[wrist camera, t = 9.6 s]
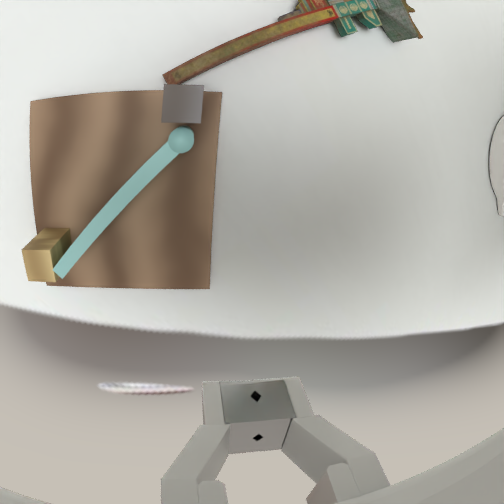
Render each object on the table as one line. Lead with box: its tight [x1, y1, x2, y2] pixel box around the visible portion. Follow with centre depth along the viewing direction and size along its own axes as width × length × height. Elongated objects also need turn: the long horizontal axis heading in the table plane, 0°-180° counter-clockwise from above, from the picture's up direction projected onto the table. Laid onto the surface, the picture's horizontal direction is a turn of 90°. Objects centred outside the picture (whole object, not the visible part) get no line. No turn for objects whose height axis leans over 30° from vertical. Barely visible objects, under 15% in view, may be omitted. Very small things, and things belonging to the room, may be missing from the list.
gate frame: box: [22, 84, 222, 289], centre depth 23 cm, size 18×19×9 cm
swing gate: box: [53, 126, 194, 279], centre depth 24 cm, size 2×16×5 cm, turn 129°
